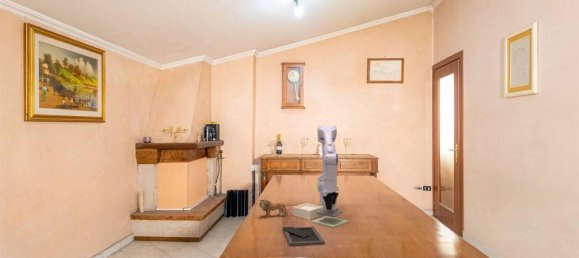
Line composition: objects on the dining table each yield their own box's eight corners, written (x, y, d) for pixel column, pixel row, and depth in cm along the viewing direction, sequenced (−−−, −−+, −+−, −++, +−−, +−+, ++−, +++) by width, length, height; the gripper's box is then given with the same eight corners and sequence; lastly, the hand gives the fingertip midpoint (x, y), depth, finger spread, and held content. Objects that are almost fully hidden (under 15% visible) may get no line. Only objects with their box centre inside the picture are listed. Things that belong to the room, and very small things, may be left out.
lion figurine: (260, 219, 149) (260, 200, 149) (257, 216, 154) (257, 197, 154) (289, 216, 154) (289, 198, 154) (286, 213, 159) (286, 195, 159)
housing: (306, 211, 164) (306, 202, 164) (323, 215, 157) (324, 206, 157) (292, 215, 156) (292, 206, 156) (309, 220, 149) (309, 211, 149)
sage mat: (327, 216, 155) (327, 215, 155) (348, 221, 146) (348, 220, 146) (311, 221, 146) (311, 220, 146) (333, 227, 138) (333, 226, 138)
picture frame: (282, 231, 134) (289, 247, 116) (282, 226, 134) (289, 242, 116) (313, 230, 136) (324, 245, 118) (313, 225, 136) (324, 240, 118)
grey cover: (325, 209, 152) (325, 200, 152) (342, 213, 148) (343, 203, 148) (316, 214, 145) (316, 204, 145) (334, 217, 140) (335, 207, 140)
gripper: (329, 176, 154) (329, 204, 154) (315, 180, 142) (315, 211, 142) (342, 177, 150) (342, 206, 151) (329, 182, 138) (329, 213, 138)
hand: (330, 209), depth 146 cm, fingers closed on grey cover, 2 cm apart
